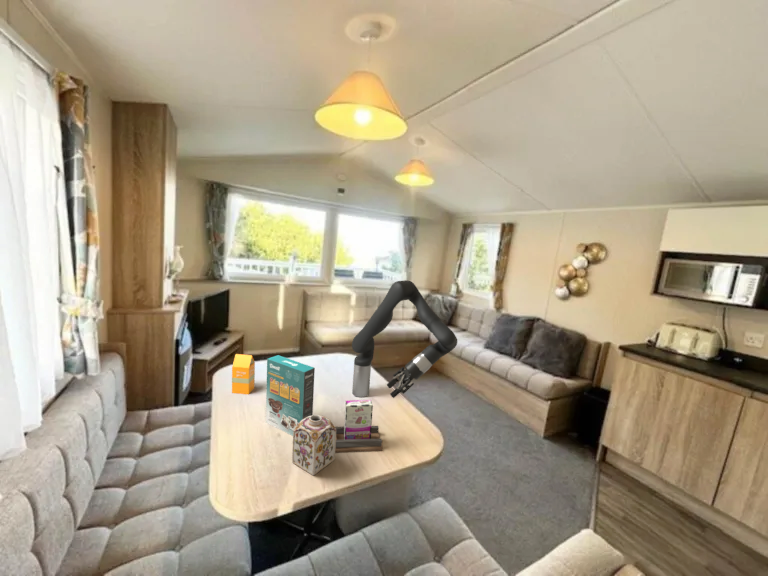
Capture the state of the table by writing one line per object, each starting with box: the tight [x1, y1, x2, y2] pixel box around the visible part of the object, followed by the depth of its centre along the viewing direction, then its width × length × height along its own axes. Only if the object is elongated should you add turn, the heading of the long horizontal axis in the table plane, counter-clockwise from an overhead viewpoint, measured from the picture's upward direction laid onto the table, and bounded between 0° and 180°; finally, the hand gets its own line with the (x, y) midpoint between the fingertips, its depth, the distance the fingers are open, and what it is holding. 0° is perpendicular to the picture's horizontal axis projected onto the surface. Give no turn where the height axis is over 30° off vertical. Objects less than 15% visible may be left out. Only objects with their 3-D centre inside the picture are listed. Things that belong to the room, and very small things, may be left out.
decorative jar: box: [291, 414, 336, 476], centre depth 127 cm, size 12×12×18 cm
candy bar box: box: [343, 399, 374, 440], centre depth 142 cm, size 11×5×16 cm, turn 101°
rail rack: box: [335, 425, 383, 453], centre depth 142 cm, size 14×20×4 cm
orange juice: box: [231, 353, 256, 395], centre depth 177 cm, size 8×9×20 cm
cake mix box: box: [265, 354, 316, 437], centre depth 146 cm, size 22×6×30 cm, turn 59°
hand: (389, 391), depth 141 cm, fingers open, 8 cm apart
